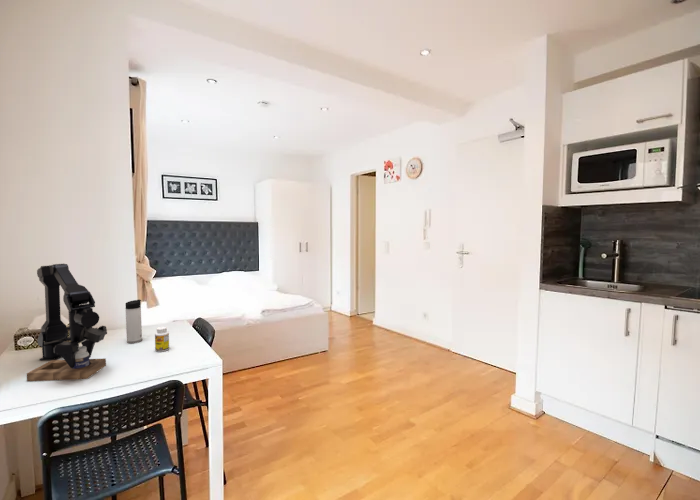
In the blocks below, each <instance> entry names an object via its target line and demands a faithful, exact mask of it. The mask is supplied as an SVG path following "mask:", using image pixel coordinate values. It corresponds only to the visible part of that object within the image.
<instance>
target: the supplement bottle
mask: <svg viewBox="0 0 700 500" xmlns="http://www.w3.org/2000/svg"><path fill="white" fill-rule="evenodd" d="M169 334H170V333H169V331H168V330H167V327H166V326H159V327H157V328H156V332H155V333H154V346H155V347H154V348H155V349H154V350H155V351H156V352H157V353H162V352H167V351H168V350H169V349H170V335H169Z"/></svg>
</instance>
